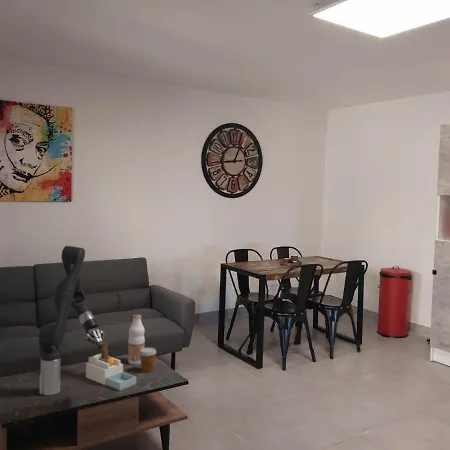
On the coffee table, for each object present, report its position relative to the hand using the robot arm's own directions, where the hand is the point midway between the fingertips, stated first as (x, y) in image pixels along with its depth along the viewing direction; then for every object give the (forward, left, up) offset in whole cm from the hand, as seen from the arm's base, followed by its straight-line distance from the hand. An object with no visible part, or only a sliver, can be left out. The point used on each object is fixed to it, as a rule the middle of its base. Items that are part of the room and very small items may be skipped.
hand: (102, 348), depth 266 cm
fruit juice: (+17, +22, -16) cm, 32 cm away
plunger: (+2, -2, -8) cm, 8 cm away
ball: (+5, -5, -6) cm, 9 cm away
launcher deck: (+1, -1, -16) cm, 16 cm away
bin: (+11, -11, -16) cm, 22 cm away
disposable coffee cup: (+24, +8, -16) cm, 30 cm away
